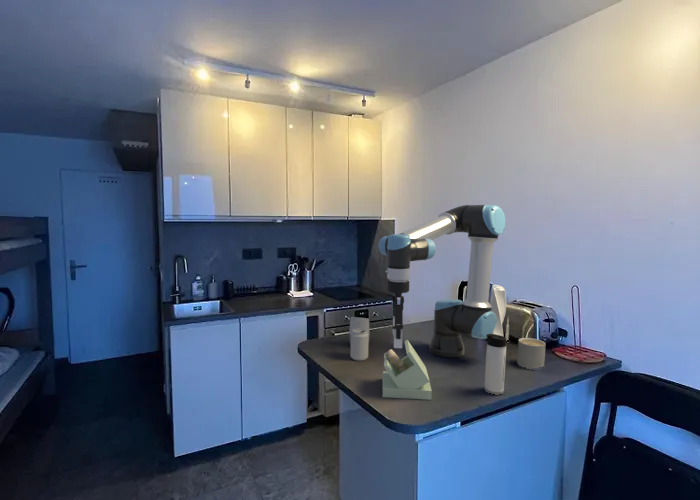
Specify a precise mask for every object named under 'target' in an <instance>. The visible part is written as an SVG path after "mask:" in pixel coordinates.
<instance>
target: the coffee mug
mask: <svg viewBox="0 0 700 500" xmlns="http://www.w3.org/2000/svg"><path fill="white" fill-rule="evenodd" d="M545 358H546V342H544V341H542V340H540V339H537V338H531V337H522V338H519V339H518V343H517V358H516V364H517V363H518V364H519V365H521V366H524V367H530V368H539V367H543V366H544V367H545V361H546V360H545Z"/></svg>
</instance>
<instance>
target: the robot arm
mask: <svg viewBox="0 0 700 500" xmlns="http://www.w3.org/2000/svg"><path fill="white" fill-rule="evenodd" d="M506 221H507V220H506V216H505V213H504V211H503V210H502V208H501V207H500V206H498V205H493V204H465V205H464V204H463V205H460V206H457V207H453V208H451V209H448V210H446V211H444V212H441V213H440V214H439V215H438V216H437V217H436V218H433V219H431V220H428V221H427V222H424V223H422V224H419V225H417V226H414V227H412V228H410V229H408V230H405V231H403V232H401V233H397V234H396V233H393V234H390V235H388V236H387V235H386V236H385V235H384V236H382V237H381V238H380V240H379V241H378V250H379V253H380V254H381V255H383V256H387V269H386V270H385V273H386V275H387V277H386V278H387V279H388V280H387V281H386V290H387V292H389V293H391V294H392V293H393V295H392V296H391V300H392V301H391V302H392V327H391V329H392V335H393V349H403V329H404V325H403V321H404V320H403V314H404V313H403V312H404V304H405V297H404V295H403V294H407V293H409V292H410V281H409V280H410V279H411V277H410V275H411V273H410V272H411V262H416V261H427V260H430V259H432V258H434V256H435V255H436V249H437V247H436V243H435V241H433V240H435V239H437V238H439V237H441V236H443V235H452V234H454V233H466V234H467V239H469V240H470V242H471V244H470V253H469V263H468V264H469V265H468V276H467V277H468V278H467V287H466V298H465V300H461V299H441V300H440V299H439V300H438V301H436V303H434V305H435V306H434V316H433V317H434V318H433V319H434V320H433V322H434V323H433V335H432V338H431V340H430V343H429V345H428V347H429V348H428V351H429V352H430V353H431V354H433V355H435V356H438V357H444V358H460V357H462V356H464V355H465V345H464V343H463V339H462V338H463V337H462V334H463V335H467V336H469V337H472V338H473V339H480V340H487V334H492V333H493V331H494V329H495V326H496V322H497V318H496V315H495V314H494V313H493V312H491V308H492V306H491V305H490V301H489V296H490V294H489V293H490V285H491V274H492V263H493V254H494V253H493V252H494V244H495V242H496V241H498V240H499V236H500V235H502V234H503V233H504V231H505V229H506V224H507V223H506Z"/></svg>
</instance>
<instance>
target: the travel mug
mask: <svg viewBox="0 0 700 500" xmlns="http://www.w3.org/2000/svg"><path fill="white" fill-rule="evenodd" d="M503 336H504V335H503ZM503 336H500V335H496V334H487V338H486V340H487V341H486V351H485V353H486V355H485V371H484V372H485V373H484V374H485V375H484V391H485V392H486V393H487V392H488V393H487V394H489V393H491V394H490V395H492V394H495V395H494V396H500V395H499V394H502V395H503V394H504V392H505V376H506V375H505V374H506V361H507V360H506V359H507V343H506V340H507V339H506V338H505V336H504V337H503Z"/></svg>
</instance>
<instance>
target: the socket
mask: <svg viewBox="0 0 700 500" xmlns="http://www.w3.org/2000/svg"><path fill="white" fill-rule="evenodd" d="M404 346H405V351H406V354H407V355H406V356H403V358H400V359H401V360H402V361H403V362H404V363H405V364H406V365H407V366H408V367H409V368H408V369H406V370H405V371H403V372H400V371H399V370H398V369H397V368H396V367H395V366H394V365H393V364H392V363H391V362H390V361H389V360H388V359H387V357H386V356H385V354H386V353H387V352H388V351H386V352H385V353H384V354H383V360H384V361H383V362H384V363H383V367H384V369H385V371H382V398H394V399H410V400H411V399H412V400H426V401H427V400H429V401H430V400H432V395H433V389H432V387H431V383H430V376H429V375H428V373H429V372H428V370H427V367H426V365H425V363H424V362H423V361H422V359H421V357H420V356H419V355H418V353H417V352H416V350H415V349H414V347H413V346H412V344H411V343H410V341H409V340H408V339H406V340H404Z"/></svg>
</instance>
